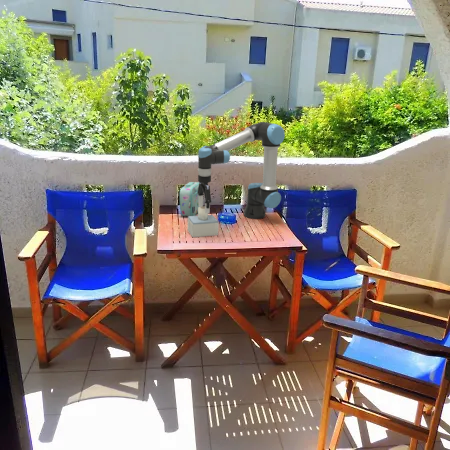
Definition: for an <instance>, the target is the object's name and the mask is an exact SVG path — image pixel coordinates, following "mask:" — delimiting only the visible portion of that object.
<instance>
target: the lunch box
mask: <svg viewBox="0 0 450 450" xmlns="http://www.w3.org/2000/svg"><path fill="white" fill-rule="evenodd" d="M198 187H199V181H197V182H196V181H195V182H194V181H189V182H188V183H186V184H184V186H182V187H181V188H180V190H179V210H180V211H179V212H180V215H181V216H182V217H188V216H197V214H198V207H200V206H198V205H199V195H198V193H197V192H198Z"/></svg>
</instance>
